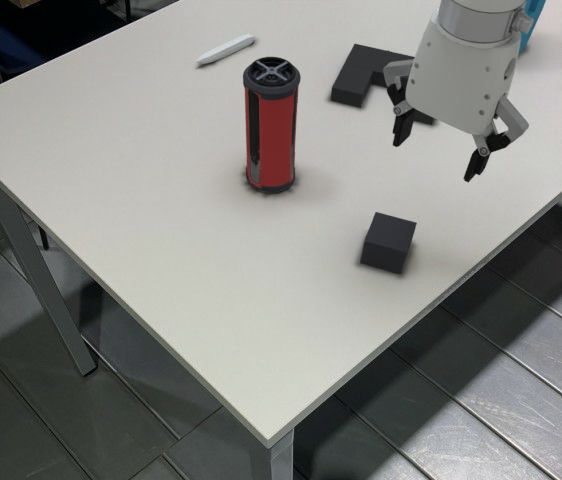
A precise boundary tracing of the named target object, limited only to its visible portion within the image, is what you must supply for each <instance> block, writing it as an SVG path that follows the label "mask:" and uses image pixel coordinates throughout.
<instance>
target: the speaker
mask: <svg viewBox="0 0 562 480" xmlns="http://www.w3.org/2000/svg"><path fill="white" fill-rule="evenodd" d="M301 79H302V78H301V72H300V70H299V69H298V68H297V67H296V66H295V65H294V64H293V63H291V62H290V61H289V60H288V59H286V58H282V57H279V56H264V57H260V58H258V59H256V60H254V61H253V62H252V63H250V64H249V65H248V66H247V67H245V69H244V70H243V72H242V84H243V88H244V111H245V113H244V114H245V145H246V147H245V149H246V151H245V152H246V167H245V179H246V181H247V183H248V184H249V185H250V186H251V187H252V188H254V189H256V190H257V191H260V192H264V193H279V192H282V191H284V190H286V189H289V188H290V187H291V186H292V185H293V184H294V182H295V180H296V166H295V163H296V161H295V160H296V139H297V138H296V137H297V117H298V103H299V86H300V84H301Z"/></svg>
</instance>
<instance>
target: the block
mask: <svg viewBox="0 0 562 480" xmlns="http://www.w3.org/2000/svg"><path fill="white" fill-rule="evenodd" d="M525 1H527V2H526V5H525V7H524V9H525V12H524V13H526V14H527V16H528V17H531V18H533V19H534V21H533V24H532V26H531V28H530V30H529V32H528V33H527V34H526V33H523V32H521V31H520V32H521V41H520V48H519V54H521V53H522V52H523V51H524V50H525V49H526V46H527V45H528V42H529V40H530V38H531V36H532V34H533V31H534V29H535V27H536V25H537V23H538V20H539V19H540V16H541V14H542V12H543V9H544V6H545V5H546V1H547V0H525Z"/></svg>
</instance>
